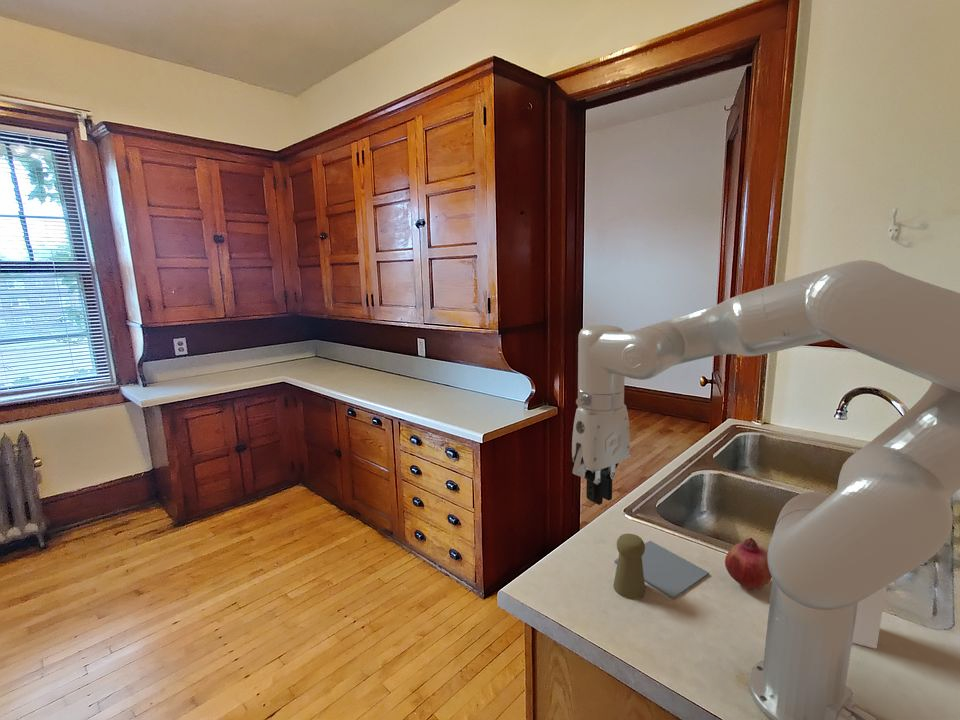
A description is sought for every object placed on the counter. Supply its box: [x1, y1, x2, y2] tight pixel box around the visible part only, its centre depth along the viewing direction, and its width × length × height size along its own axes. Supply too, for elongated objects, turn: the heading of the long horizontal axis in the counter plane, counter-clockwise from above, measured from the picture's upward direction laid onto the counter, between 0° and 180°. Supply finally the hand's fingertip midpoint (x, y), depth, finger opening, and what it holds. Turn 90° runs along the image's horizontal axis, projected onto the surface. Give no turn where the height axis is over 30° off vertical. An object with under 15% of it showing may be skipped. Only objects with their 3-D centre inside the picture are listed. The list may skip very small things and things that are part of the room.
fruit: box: [724, 537, 772, 590], centre depth 91 cm, size 8×8×10 cm
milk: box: [852, 586, 887, 650], centre depth 78 cm, size 6×6×22 cm
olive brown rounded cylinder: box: [613, 533, 646, 600], centre depth 91 cm, size 6×6×11 cm
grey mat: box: [614, 540, 710, 600], centre depth 97 cm, size 14×12×1 cm
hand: (599, 498), depth 83 cm, fingers closed
